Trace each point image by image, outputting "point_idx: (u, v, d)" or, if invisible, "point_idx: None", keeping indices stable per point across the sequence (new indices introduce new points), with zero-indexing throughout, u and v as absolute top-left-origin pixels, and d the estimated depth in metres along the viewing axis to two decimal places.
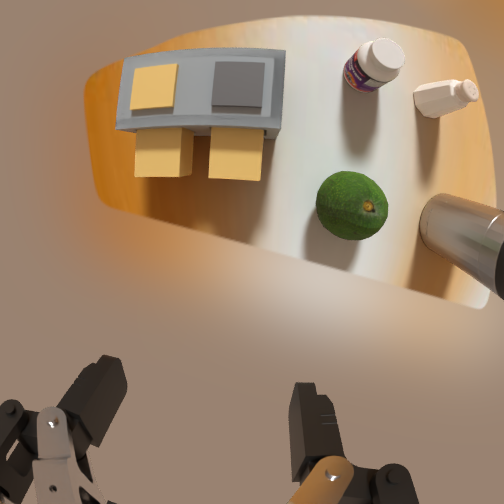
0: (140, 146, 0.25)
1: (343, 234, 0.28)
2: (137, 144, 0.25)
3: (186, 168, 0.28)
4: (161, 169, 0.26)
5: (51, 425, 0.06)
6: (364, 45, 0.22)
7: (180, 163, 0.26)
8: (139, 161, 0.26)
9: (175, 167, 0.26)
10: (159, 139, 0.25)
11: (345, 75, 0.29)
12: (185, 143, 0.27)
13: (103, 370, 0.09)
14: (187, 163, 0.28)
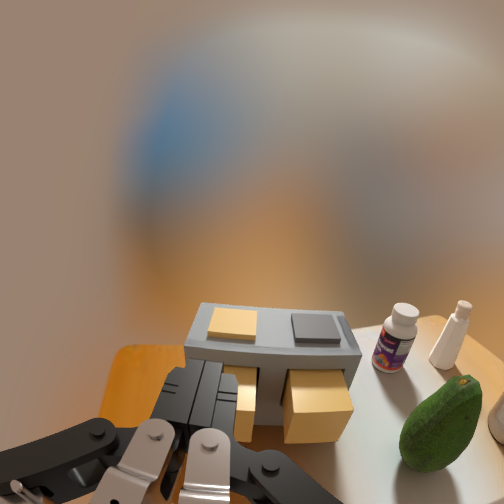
0: None
1: (454, 436, 0.14)
2: None
3: None
4: None
5: (158, 440, 0.06)
6: (386, 319, 0.35)
7: None
8: None
9: (250, 402, 0.19)
10: None
11: (376, 363, 0.35)
12: None
13: (196, 373, 0.10)
14: None
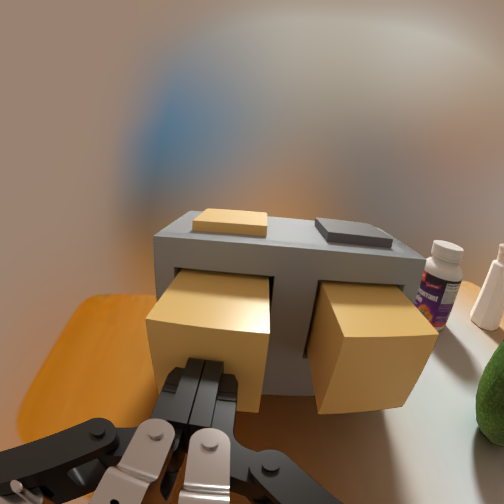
0: (179, 286, 0.13)
1: None
2: (174, 284, 0.14)
3: None
4: (221, 318, 0.11)
5: (158, 440, 0.06)
6: None
7: (269, 319, 0.12)
8: (169, 302, 0.12)
9: (259, 319, 0.11)
10: (223, 286, 0.14)
11: None
12: None
13: (196, 373, 0.10)
14: None
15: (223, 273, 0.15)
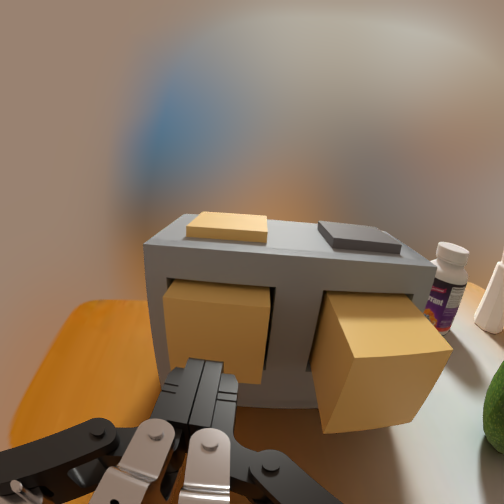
0: None
1: None
2: None
3: None
4: (228, 296, 0.13)
5: (158, 440, 0.06)
6: None
7: (269, 296, 0.14)
8: (182, 283, 0.14)
9: (261, 296, 0.13)
10: None
11: None
12: None
13: (196, 373, 0.10)
14: None
15: None
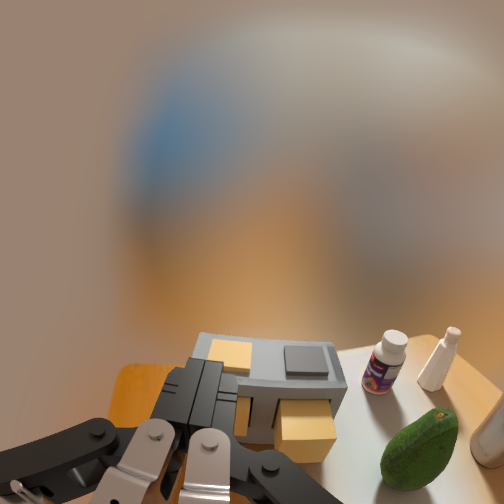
0: None
1: (428, 463, 0.15)
2: None
3: None
4: None
5: (158, 440, 0.06)
6: (376, 345, 0.36)
7: None
8: None
9: (245, 402, 0.24)
10: None
11: (365, 385, 0.36)
12: None
13: (196, 373, 0.10)
14: None
15: None
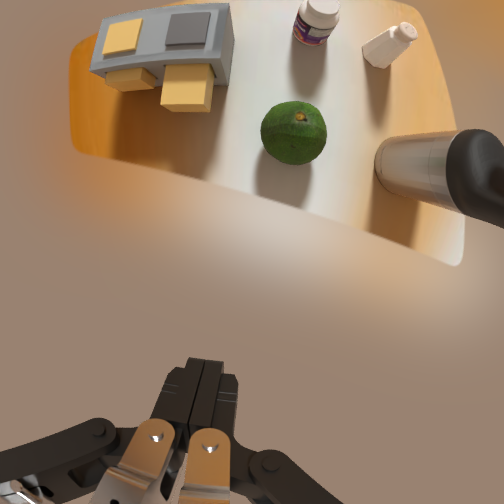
0: None
1: (284, 152, 0.29)
2: None
3: (148, 78, 0.27)
4: (126, 75, 0.25)
5: (158, 440, 0.06)
6: (305, 1, 0.23)
7: (142, 69, 0.25)
8: (110, 71, 0.25)
9: (138, 72, 0.25)
10: None
11: (294, 32, 0.30)
12: None
13: (196, 373, 0.10)
14: (150, 75, 0.28)
15: None
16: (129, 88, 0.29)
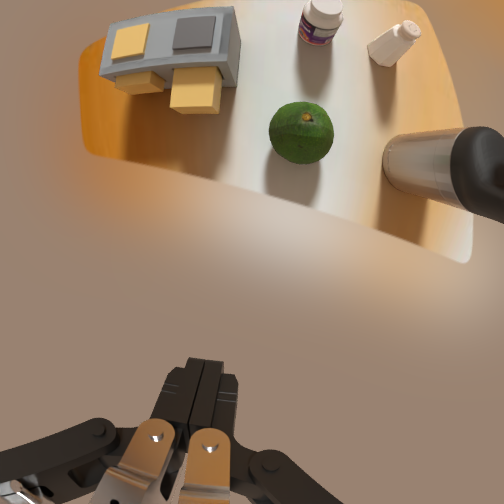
0: None
1: (291, 152, 0.29)
2: None
3: (157, 82, 0.29)
4: (136, 79, 0.26)
5: (159, 440, 0.06)
6: (308, 2, 0.23)
7: (151, 72, 0.26)
8: None
9: (147, 76, 0.26)
10: None
11: (299, 32, 0.30)
12: None
13: (196, 373, 0.10)
14: (159, 78, 0.29)
15: None
16: (139, 91, 0.30)
